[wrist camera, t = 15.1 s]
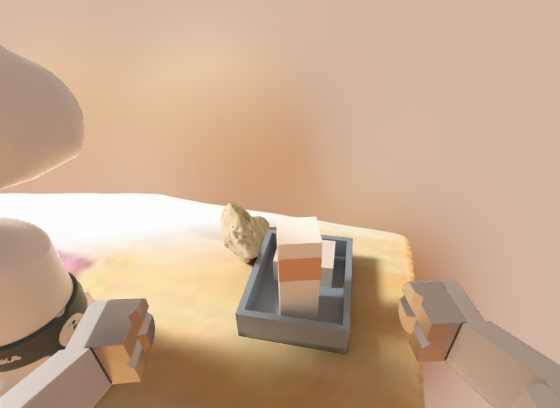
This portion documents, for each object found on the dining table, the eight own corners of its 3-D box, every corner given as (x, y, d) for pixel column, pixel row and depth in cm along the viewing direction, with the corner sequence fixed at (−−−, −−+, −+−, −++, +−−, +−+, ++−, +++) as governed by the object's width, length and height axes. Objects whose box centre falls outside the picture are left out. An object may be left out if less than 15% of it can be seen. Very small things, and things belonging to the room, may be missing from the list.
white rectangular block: (273, 280, 57) (272, 261, 54) (281, 253, 62) (281, 235, 60) (331, 287, 55) (333, 268, 52) (333, 259, 61) (335, 241, 58)
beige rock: (236, 228, 74) (187, 218, 62) (257, 206, 72) (210, 190, 60) (272, 281, 67) (224, 282, 54) (296, 257, 65) (252, 253, 52)
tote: (238, 335, 49) (235, 314, 46) (268, 248, 65) (267, 228, 62) (346, 354, 46) (350, 332, 43) (349, 258, 62) (352, 238, 60)
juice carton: (280, 326, 49) (278, 245, 40) (278, 297, 54) (275, 218, 45) (317, 323, 49) (323, 242, 40) (312, 294, 54) (316, 216, 45)
